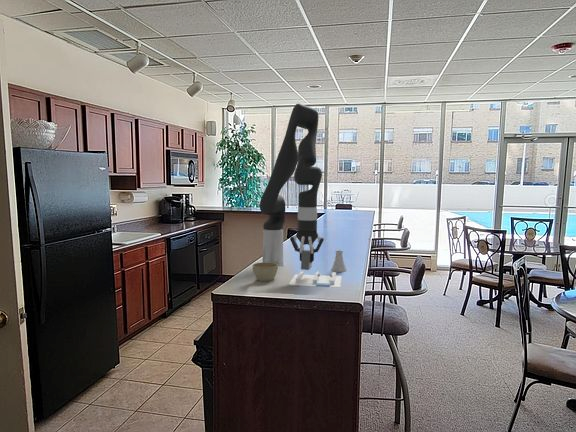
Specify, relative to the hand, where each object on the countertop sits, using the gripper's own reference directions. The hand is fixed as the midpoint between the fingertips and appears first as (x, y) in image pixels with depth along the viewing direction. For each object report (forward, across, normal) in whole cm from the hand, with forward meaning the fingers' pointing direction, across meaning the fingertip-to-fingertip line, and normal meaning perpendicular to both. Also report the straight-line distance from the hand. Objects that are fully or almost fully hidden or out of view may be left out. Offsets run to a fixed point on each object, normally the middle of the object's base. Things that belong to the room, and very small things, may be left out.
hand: (306, 262), depth 154 cm
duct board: (+8, -4, +1) cm, 9 cm away
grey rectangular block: (+2, 0, 0) cm, 2 cm away
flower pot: (+9, +16, +3) cm, 18 cm away
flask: (+8, -12, -17) cm, 22 cm away
